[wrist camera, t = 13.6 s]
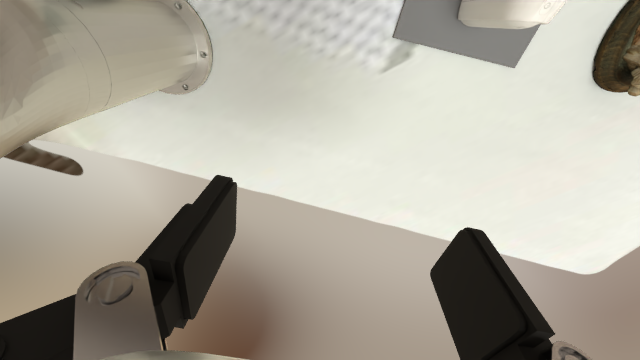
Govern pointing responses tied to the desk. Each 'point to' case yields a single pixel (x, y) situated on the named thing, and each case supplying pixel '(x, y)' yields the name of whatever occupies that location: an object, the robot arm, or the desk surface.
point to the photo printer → (508, 13)
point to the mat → (460, 32)
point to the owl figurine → (621, 53)
